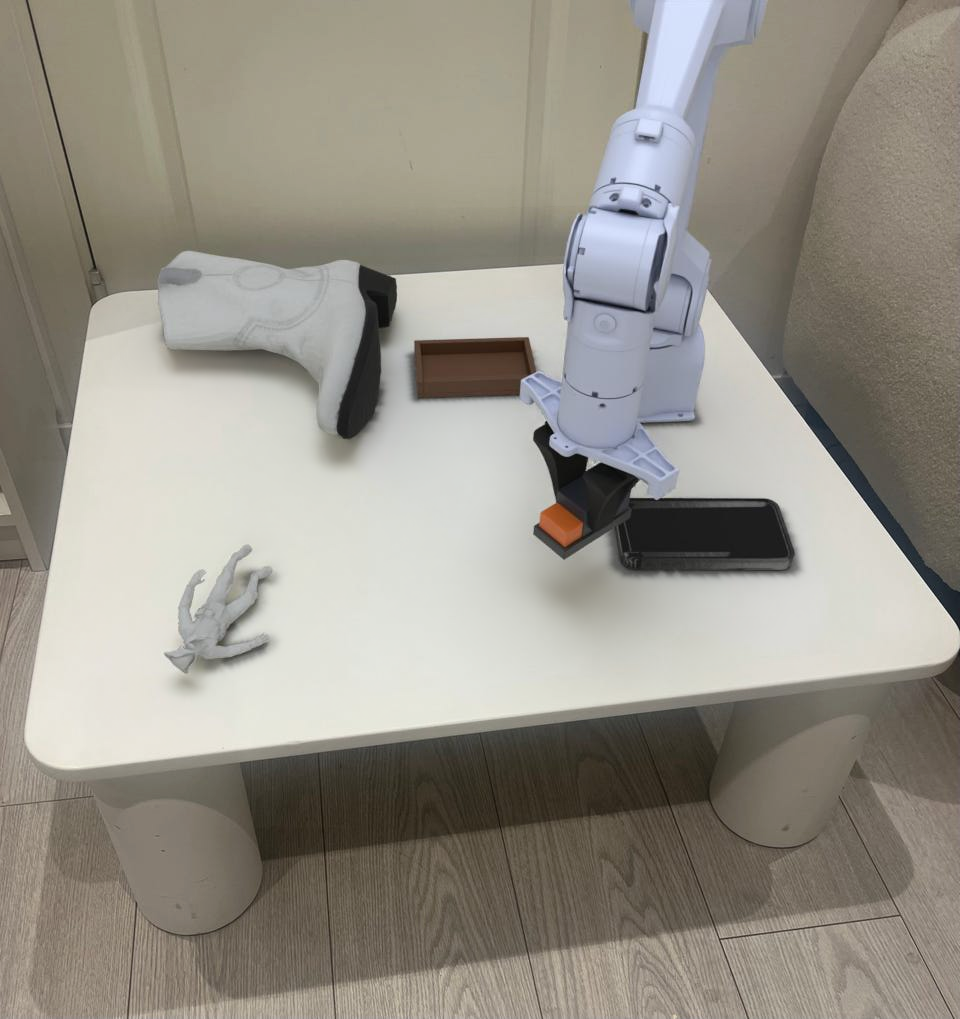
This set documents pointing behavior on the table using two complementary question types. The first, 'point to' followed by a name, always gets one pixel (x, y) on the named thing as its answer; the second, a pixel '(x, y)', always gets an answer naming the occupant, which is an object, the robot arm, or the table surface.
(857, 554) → the table surface
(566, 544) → the stepped block
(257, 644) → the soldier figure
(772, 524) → the phone
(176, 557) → the table surface
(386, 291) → the cowboy boot
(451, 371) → the rectangular tray
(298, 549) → the table surface
